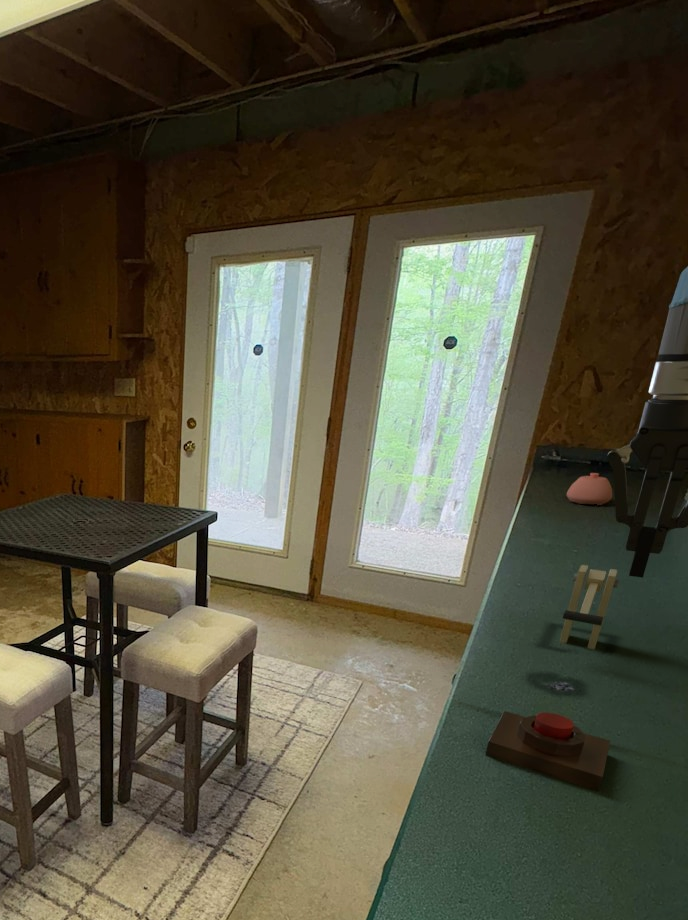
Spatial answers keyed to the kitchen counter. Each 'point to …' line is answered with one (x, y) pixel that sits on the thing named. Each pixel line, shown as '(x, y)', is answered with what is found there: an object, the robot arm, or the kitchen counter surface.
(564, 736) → the button
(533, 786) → the kitchen counter surface
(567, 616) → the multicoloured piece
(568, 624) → the light wood frame
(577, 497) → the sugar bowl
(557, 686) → the blueberries
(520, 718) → the brown button housing
